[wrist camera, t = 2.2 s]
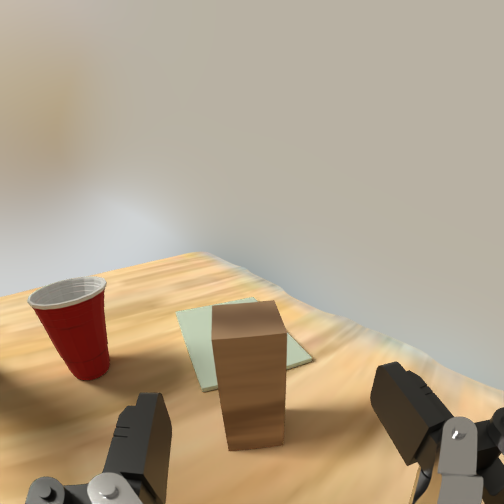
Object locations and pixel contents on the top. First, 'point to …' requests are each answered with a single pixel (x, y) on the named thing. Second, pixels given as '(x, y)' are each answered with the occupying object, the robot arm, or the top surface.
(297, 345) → the mat
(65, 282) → the plastic cup
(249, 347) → the walnut block
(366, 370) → the top surface
